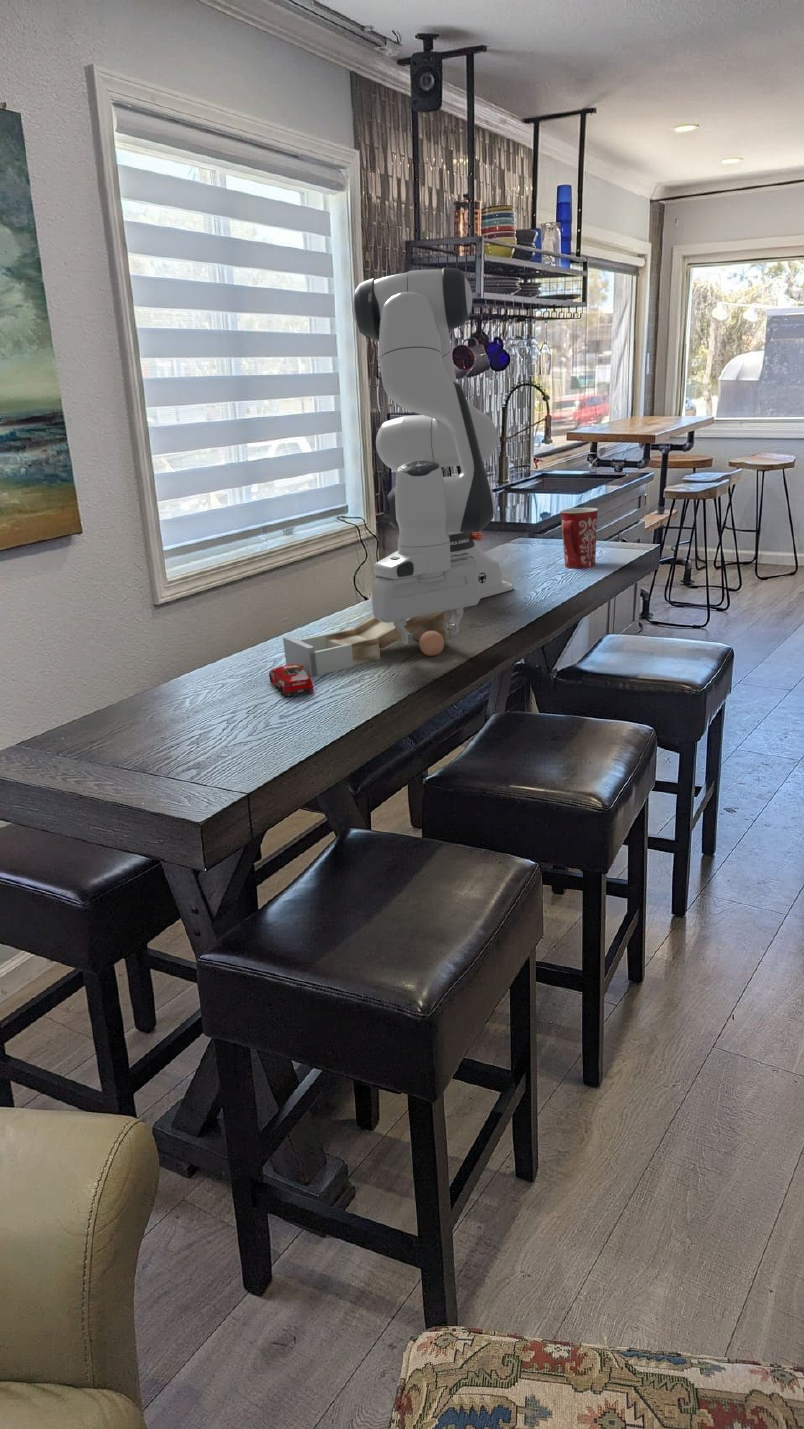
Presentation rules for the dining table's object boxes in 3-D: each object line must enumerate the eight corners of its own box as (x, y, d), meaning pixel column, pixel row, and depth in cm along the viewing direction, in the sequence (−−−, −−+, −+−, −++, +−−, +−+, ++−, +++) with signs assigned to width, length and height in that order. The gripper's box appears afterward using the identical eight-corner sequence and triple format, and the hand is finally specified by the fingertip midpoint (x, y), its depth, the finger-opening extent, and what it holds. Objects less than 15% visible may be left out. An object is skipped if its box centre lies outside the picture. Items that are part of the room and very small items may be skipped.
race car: (267, 681, 168) (264, 658, 166) (298, 676, 169) (295, 653, 168) (283, 701, 156) (280, 677, 154) (317, 696, 157) (314, 672, 156)
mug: (571, 561, 246) (569, 507, 242) (604, 562, 241) (604, 507, 237) (548, 571, 237) (546, 514, 232) (582, 573, 231) (581, 515, 227)
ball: (436, 650, 177) (434, 626, 175) (449, 655, 173) (448, 631, 172) (415, 655, 175) (413, 631, 173) (428, 660, 171) (426, 635, 169)
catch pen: (327, 655, 179) (324, 628, 178) (353, 666, 171) (351, 639, 169) (286, 664, 175) (282, 637, 174) (311, 676, 167) (307, 648, 165)
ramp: (422, 634, 188) (419, 590, 185) (449, 643, 180) (446, 598, 177) (327, 655, 179) (322, 610, 176) (351, 666, 171) (346, 618, 168)
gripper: (465, 549, 175) (469, 624, 180) (364, 566, 166) (371, 645, 170) (485, 552, 170) (489, 630, 175) (382, 570, 161) (389, 652, 165)
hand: (430, 638), depth 172 cm, fingers open, 8 cm apart
